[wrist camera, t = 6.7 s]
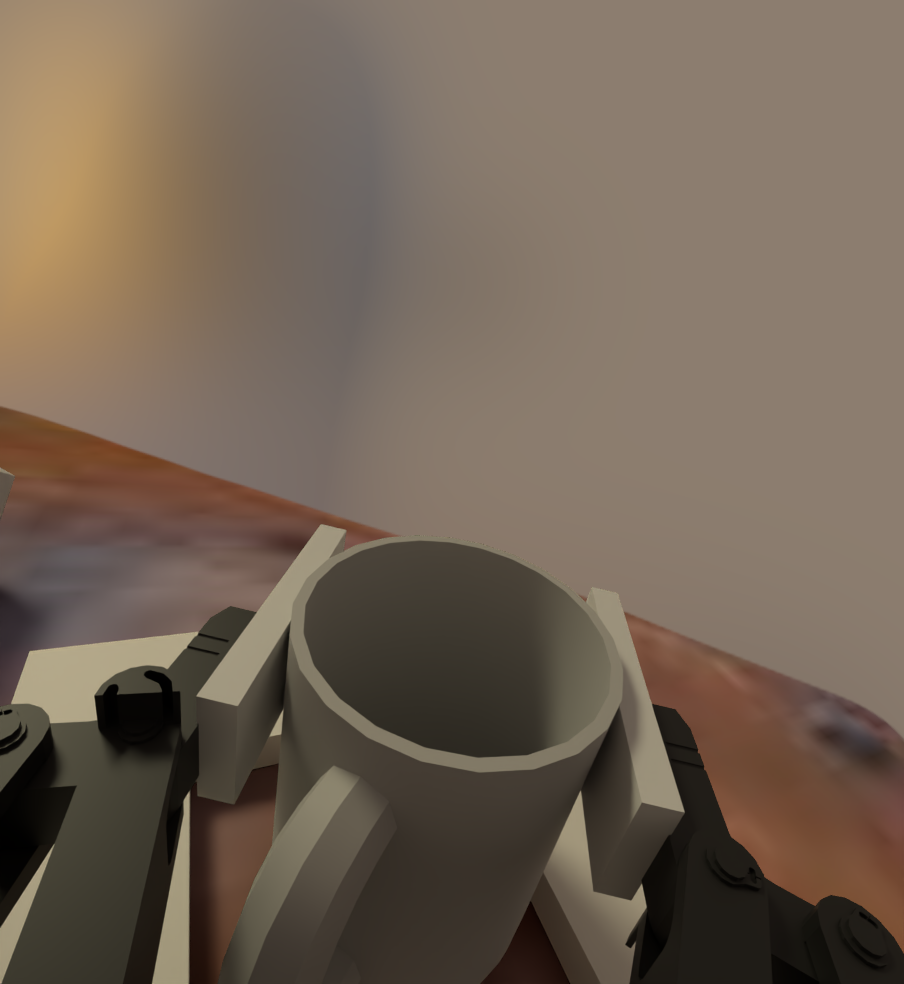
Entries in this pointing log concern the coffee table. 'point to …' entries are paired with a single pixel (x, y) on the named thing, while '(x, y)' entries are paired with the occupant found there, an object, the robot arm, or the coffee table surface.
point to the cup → (422, 763)
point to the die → (5, 488)
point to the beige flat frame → (83, 669)
